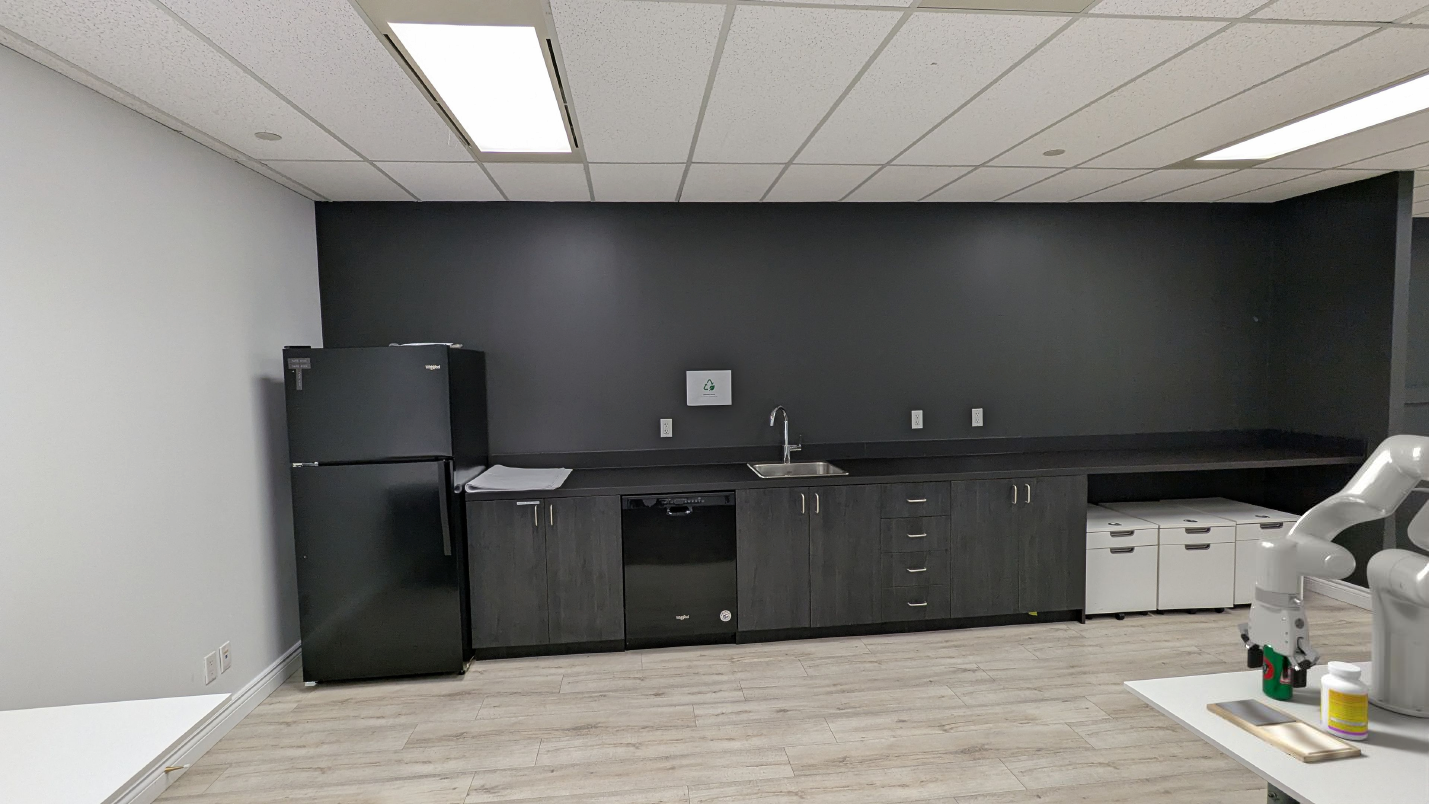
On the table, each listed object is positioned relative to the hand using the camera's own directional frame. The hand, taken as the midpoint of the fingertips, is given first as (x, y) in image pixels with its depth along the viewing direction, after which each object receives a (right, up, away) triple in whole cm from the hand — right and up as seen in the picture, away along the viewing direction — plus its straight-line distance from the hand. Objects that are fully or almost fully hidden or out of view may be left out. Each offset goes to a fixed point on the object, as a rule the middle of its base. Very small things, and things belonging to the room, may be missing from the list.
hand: (1275, 677), depth 147 cm
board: (-11, -5, -14) cm, 18 cm away
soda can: (0, -4, 0) cm, 4 cm away
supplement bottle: (+1, -5, -15) cm, 16 cm away
